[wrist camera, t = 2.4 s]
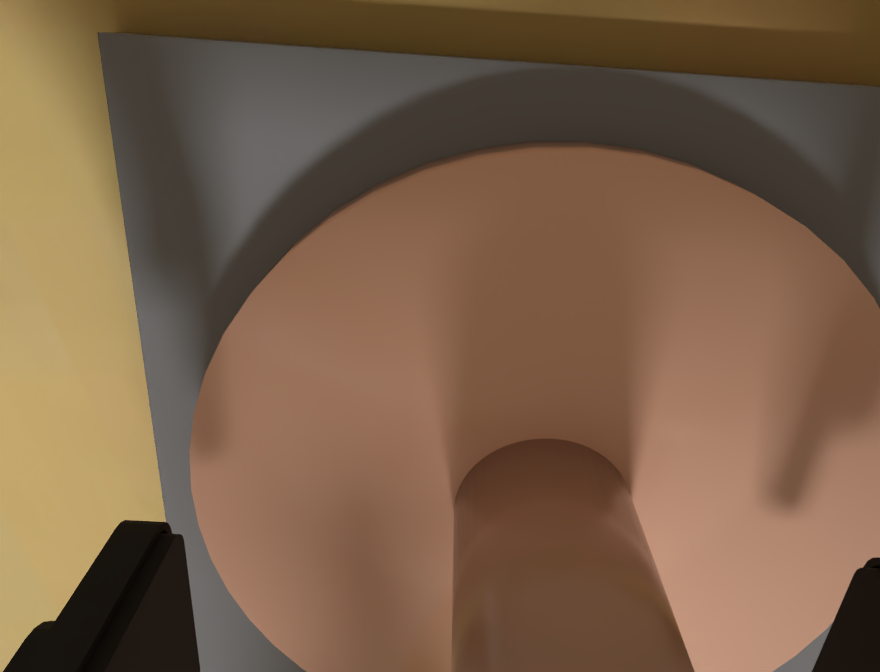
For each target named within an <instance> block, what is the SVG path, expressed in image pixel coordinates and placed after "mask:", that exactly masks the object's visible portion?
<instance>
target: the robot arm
mask: <svg viewBox="0 0 880 672" xmlns="http://www.w3.org/2000/svg"><path fill="white" fill-rule="evenodd" d="M3 672H200V663H199V655H198V647H197V639H196V631H195V623H194V615H193V607H192V599H191V591H190V583H189V575H188V567H187V559H186V551H185V543H184V538H183V536H182V535H181V534H172V530H171V527H170V525H169V524H168V523H166V522H150V521H130V520H125V521H123V522H121V523H120V524H119V525H118V526H117V527H116V529H115V530H114V532H113V533H112V535H111V536H110V538H109V540H108V541H107V543H106V544H105V546H104V547H103V549H102V550H101V552H100V553H99V555H98V556H97V558H96V559H95V561H94V562H93V564H92V566H91V567H90V569H89V570H88V572H87V573H86V575H85V576H84V578H83V579H82V581H81V582H80V584H79V585H78V587H77V588H76V590H75V592H74V593H73V595H72V596H71V598H70V599H69V601H68V602H67V604H66V605H65V607H64V608H63V610H62V611H61V613H60V615H59V616H58V618H57V619H56V621H48V622H43V623H41V624H40V625H38V626H37V627H36V628H34V629H33V631H32V632H31V633H30V634H29V635H28V637H27V638H26V639H25V640H24V642H23V643H22V645H21V646H20V648H19V649H18V651H17V652H16V653H15V655H14V656H13V658H12V659H11V661H10V662H9V664H8V665H7V667H6V668H5V670H4V671H3ZM812 672H880V557H876V558H871V559H870V560H868V561H867V562H866V564H865V565H864V567H863V568H859V569H857V570H856V572H855V573H854V575H853V577H852V580H851V582H850V584H849V587H848V589H847V591H846V593H845V596H844V598H843V600H842V603H841V605H840V607H839V610H838V612H837V614H836V617H835V619H834V621H833V624H832V626H831V628H830V631H829V633H828V635H827V637H826V640H825V642H824V644H823V647H822V649H821V651H820V654H819V656H818V658H817V661H816V663H815V665H814V668H813V670H812Z"/></svg>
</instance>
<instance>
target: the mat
mask: <svg viewBox="0 0 880 672" xmlns="http://www.w3.org/2000/svg"><path fill="white" fill-rule="evenodd" d="M98 40H99V47H100V54H101V61H102V68H103V75H104V82H105V89H106V96H107V104H108V111H109V118H110V125H111V132H112V139H113V146H114V153H115V161H116V168H117V175H118V182H119V189H120V196H121V203H122V210H123V217H124V225H125V232H126V239H127V246H128V253H129V260H130V267H131V274H132V282H133V289H134V296H135V303H136V310H137V317H138V324H139V331H140V338H141V346H142V353H143V360H144V367H145V374H146V381H147V388H148V395H149V403H150V410H151V417H152V424H153V431H154V438H155V445H156V452H157V459H158V467H159V474H160V481H161V488H162V495H163V502H164V509H165V516H166V523H168V524H169V525H170V527H171V530H172V534H181V535H182V536H183V538H184V543H185V551H186V559H187V567H188V575H189V583H190V591H191V599H192V607H193V615H194V623H195V631H196V639H197V647H198V655H199V663H200V672H306V671H305V670H303V669H302V668H301V667H299V666H298V665H297V664H296V663H295V662H293V661H292V660H291V659H290V658H289V657H287V656H286V655H285V654H284V653H282V652H281V651H280V650H279V649H278V648H276V647H275V646H274V645H273V644H272V643H271V642H270V641H269V640H268V639H267V638H266V637H265V636H264V634H263V633H262V632H261V631H260V630H259V629H258V628H257V627H256V626H255V625H254V624H253V623H252V622H251V621H250V620H249V618H248V617H247V616H246V614H245V613H244V612H243V610H242V609H241V608H240V606H239V605H238V604H237V602H236V601H235V599H234V598H233V597H232V595H231V594H230V593H229V591H228V590H227V588H226V586H225V584H224V582H223V580H222V579H221V577H220V575H219V573H218V571H217V569H216V568H215V566H214V564H213V562H212V560H211V558H210V555H209V552H208V550H207V547H206V544H205V542H204V539H203V536H202V534H201V531H200V528H199V525H198V521H197V516H196V511H195V506H194V501H193V496H192V491H191V476H190V454H189V451H190V442H191V433H192V425H193V416H194V411H195V407H196V404H197V400H198V397H199V393H200V390H201V386H202V383H203V379H204V376H205V372H206V370H207V368H208V366H209V364H210V362H211V360H212V357H213V355H214V353H215V351H216V349H217V347H218V345H219V343H220V340H221V338H222V336H223V334H224V332H225V331H226V329H227V328H228V326H229V325H230V323H231V322H232V321H233V319H234V318H235V316H236V315H237V313H238V312H239V310H240V309H241V307H242V306H243V304H244V303H245V301H246V300H247V298H248V297H249V295H250V294H251V293H252V292H253V290H254V289H255V288H256V287H257V285H258V284H259V283H260V282H261V280H262V279H263V278H264V277H265V275H266V274H267V273H268V272H269V271H270V270H271V269H272V268H273V266H274V265H275V264H276V263H277V262H278V261H279V260H280V259H281V258H282V257H283V256H284V255H285V253H286V252H287V251H288V250H289V249H290V248H291V247H292V246H293V245H294V244H295V243H296V242H297V240H298V239H300V238H301V237H302V236H303V235H305V234H306V233H307V232H308V231H310V230H311V229H312V228H313V227H314V226H316V225H317V224H318V223H319V222H321V221H322V220H323V219H324V218H326V217H327V216H328V215H329V214H330V213H332V212H333V211H334V210H335V209H337V208H339V207H340V206H342V205H344V204H345V203H347V202H349V201H350V200H352V199H354V198H355V197H357V196H359V195H360V194H362V193H364V192H365V191H367V190H369V189H370V188H372V187H374V186H375V185H377V184H379V183H381V182H383V181H386V180H388V179H390V178H393V177H395V176H397V175H400V174H402V173H404V172H407V171H409V170H411V169H414V168H416V167H418V166H421V165H423V164H425V163H429V162H432V161H436V160H440V159H443V158H447V157H450V156H454V155H458V154H461V153H465V152H468V151H472V150H476V149H481V148H489V147H496V146H503V145H510V144H518V143H525V142H592V143H599V144H607V145H614V146H622V147H629V148H637V149H641V150H644V151H648V152H652V153H655V154H659V155H662V156H666V157H669V158H673V159H677V160H680V161H684V162H687V163H690V164H692V165H694V166H697V167H699V168H701V169H703V170H706V171H708V172H710V173H712V174H715V175H717V176H719V177H721V178H724V179H726V180H728V181H731V182H733V183H735V184H737V185H738V186H740V187H742V188H744V189H746V190H747V191H749V192H751V193H753V194H755V195H756V196H758V197H760V198H762V199H763V200H765V201H766V202H768V203H770V204H771V205H773V206H774V207H776V208H777V209H779V210H781V211H782V212H784V213H785V214H787V215H788V216H790V217H792V218H793V219H795V220H796V221H798V222H799V223H801V224H803V225H804V226H806V227H807V228H808V229H809V230H810V231H811V232H813V233H814V234H815V235H816V236H817V237H818V238H819V239H820V240H822V241H823V242H824V243H825V244H826V245H827V246H828V247H829V248H831V249H832V250H833V251H834V252H835V253H836V254H837V255H838V256H840V257H841V258H842V259H843V260H844V261H845V262H846V264H847V265H848V266H849V267H850V269H851V270H852V271H853V272H854V274H855V275H856V276H857V277H858V279H859V280H860V281H861V282H862V284H863V285H864V286H865V287H866V289H867V290H868V291H869V292H870V294H871V295H872V296H873V297H874V299H875V301H876V303H877V305H878V307H879V308H880V86H867V85H853V84H839V83H825V82H810V81H796V80H782V79H768V78H754V77H740V76H726V75H711V74H697V73H683V72H669V71H655V70H641V69H626V68H612V67H598V66H584V65H570V64H556V63H542V62H527V61H513V60H499V59H485V58H471V57H457V56H443V55H428V54H414V53H400V52H386V51H372V50H358V49H344V48H329V47H315V46H301V45H287V44H273V43H259V42H245V41H230V40H216V39H202V38H188V37H174V36H160V35H145V34H131V33H98ZM832 624H833V622H832ZM832 624H831V625H830V626H829V627H828V628H827V629H826V630H825V631H824V632H823V633H821V634H820V635H819V636H818V637H817V638H816V639H814V640H813V641H812V642H811V643H810V644H809V645H807V646H806V647H805V648H804V649H803V650H802V651H800V652H799V653H798V654H797V655H796V656H794V657H793V658H792V659H790V660H789V661H787V662H786V663H784V664H783V665H781V666H780V667H778V668H777V669H776V670H774V671H773V672H812V670H813V668H814V665H815V663H816V661H817V658H818V656H819V654H820V651H821V649H822V647H823V644H824V642H825V640H826V637H827V635H828V633H829V631H830V628H831V626H832Z"/></svg>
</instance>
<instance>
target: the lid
mask: <svg viewBox="0 0 880 672" xmlns="http://www.w3.org/2000/svg"><path fill="white" fill-rule="evenodd" d="M189 454H190V476H191V491H192V496H193V501H194V506H195V511H196V516H197V521H198V525H199V528H200V531H201V534H202V536H203V539H204V542H205V544H206V547H207V550H208V552H209V555H210V558H211V560H212V562H213V564H214V566H215V568H216V569H217V571H218V573H219V575H220V577H221V579H222V580H223V582H224V584H225V586H226V588H227V590H228V591H229V593H230V594H231V595H232V597H233V598H234V599H235V601H236V602H237V604H238V605H239V606H240V608H241V609H242V610H243V612H244V613H245V614H246V616H247V617H248V618H249V620H250V621H251V622H252V623H253V624H254V625H255V626H256V627H257V628H258V629H259V630H260V631H261V632H262V633H263V634H264V636H265V637H266V638H267V639H268V640H269V641H270V642H271V643H272V644H273V645H274V646H275V647H276V648H278V649H279V650H280V651H281V652H282V653H284V654H285V655H286V656H287V657H289V658H290V659H291V660H292V661H293V662H295V663H296V664H297V665H298V666H299V667H301V668H302V669H303V670H305V671H306V672H773V671H774V670H776V669H777V668H778V667H780V666H781V665H783V664H784V663H786V662H787V661H789V660H790V659H792V658H793V657H794V656H796V655H797V654H798V653H799V652H800V651H802V650H803V649H804V648H805V647H806V646H807V645H809V644H810V643H811V642H812V641H813V640H814V639H816V638H817V637H818V636H819V635H820V634H821V633H823V632H824V631H825V630H826V629H827V628H828V627H829V626H830V625H831V624H832V622H833V621H834V619H835V617H836V614H837V612H838V610H839V607H840V605H841V603H842V600H843V598H844V596H845V593H846V591H847V589H848V587H849V584H850V582H851V580H852V577H853V575H854V573H855V572H856V570H857V569H859V568H863V567H864V565H865V564H866V562H867V561H868V560H870V559H871V558H876V557H880V308H879V307H878V305H877V303H876V301H875V299H874V297H873V296H872V295H871V294H870V292H869V291H868V290H867V289H866V287H865V286H864V285H863V284H862V282H861V281H860V280H859V279H858V277H857V276H856V275H855V274H854V272H853V271H852V270H851V269H850V267H849V266H848V265H847V264H846V262H845V261H844V260H843V259H842V258H841V257H840V256H838V255H837V254H836V253H835V252H834V251H833V250H832V249H831V248H829V247H828V246H827V245H826V244H825V243H824V242H823V241H822V240H820V239H819V238H818V237H817V236H816V235H815V234H814V233H813V232H811V231H810V230H809V229H808V228H807V227H806V226H804V225H803V224H801V223H799V222H798V221H796V220H795V219H793V218H792V217H790V216H788V215H787V214H785V213H784V212H782V211H781V210H779V209H777V208H776V207H774V206H773V205H771V204H770V203H768V202H766V201H765V200H763V199H762V198H760V197H758V196H756V195H755V194H753V193H751V192H749V191H747V190H746V189H744V188H742V187H740V186H738V185H737V184H735V183H733V182H731V181H728V180H726V179H724V178H721V177H719V176H717V175H715V174H712V173H710V172H708V171H706V170H703V169H701V168H699V167H697V166H694V165H692V164H690V163H687V162H684V161H680V160H677V159H673V158H669V157H666V156H662V155H659V154H655V153H652V152H648V151H644V150H641V149H637V148H629V147H622V146H614V145H607V144H599V143H592V142H525V143H518V144H510V145H503V146H496V147H489V148H481V149H476V150H472V151H468V152H465V153H461V154H458V155H454V156H450V157H447V158H443V159H440V160H436V161H432V162H429V163H425V164H423V165H421V166H418V167H416V168H414V169H411V170H409V171H407V172H404V173H402V174H400V175H397V176H395V177H393V178H390V179H388V180H386V181H383V182H381V183H379V184H377V185H375V186H374V187H372V188H370V189H369V190H367V191H365V192H364V193H362V194H360V195H359V196H357V197H355V198H354V199H352V200H350V201H349V202H347V203H345V204H344V205H342V206H340V207H339V208H337V209H335V210H334V211H333V212H332V213H330V214H329V215H328V216H327V217H326V218H324V219H323V220H322V221H321V222H319V223H318V224H317V225H316V226H314V227H313V228H312V229H311V230H310V231H308V232H307V233H306V234H305V235H303V236H302V237H301V238H300V239H298V240H297V242H296V243H295V244H294V245H293V246H292V247H291V248H290V249H289V250H288V251H287V252H286V253H285V255H284V256H283V257H282V258H281V259H280V260H279V261H278V262H277V263H276V264H275V265H274V266H273V268H272V269H271V270H270V271H269V272H268V273H267V274H266V275H265V277H264V278H263V279H262V280H261V282H260V283H259V284H258V285H257V287H256V288H255V289H254V290H253V292H252V293H251V294H250V295H249V297H248V298H247V300H246V301H245V303H244V304H243V306H242V307H241V309H240V310H239V312H238V313H237V315H236V316H235V318H234V319H233V321H232V322H231V323H230V325H229V326H228V328H227V329H226V331H225V332H224V334H223V336H222V338H221V340H220V343H219V345H218V347H217V349H216V351H215V353H214V355H213V357H212V360H211V362H210V364H209V366H208V368H207V370H206V372H205V376H204V379H203V383H202V386H201V390H200V393H199V397H198V400H197V404H196V407H195V411H194V416H193V425H192V433H191V442H190V451H189Z"/></svg>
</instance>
